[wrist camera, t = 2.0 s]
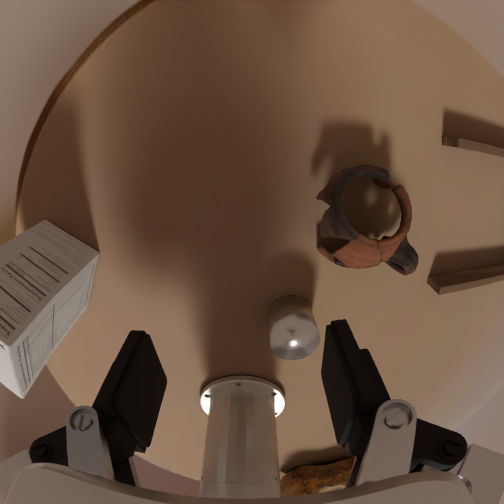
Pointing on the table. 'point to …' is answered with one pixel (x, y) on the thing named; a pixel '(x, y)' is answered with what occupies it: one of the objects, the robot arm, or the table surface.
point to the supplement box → (40, 299)
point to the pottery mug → (360, 246)
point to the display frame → (477, 275)
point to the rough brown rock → (316, 478)
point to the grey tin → (292, 328)
